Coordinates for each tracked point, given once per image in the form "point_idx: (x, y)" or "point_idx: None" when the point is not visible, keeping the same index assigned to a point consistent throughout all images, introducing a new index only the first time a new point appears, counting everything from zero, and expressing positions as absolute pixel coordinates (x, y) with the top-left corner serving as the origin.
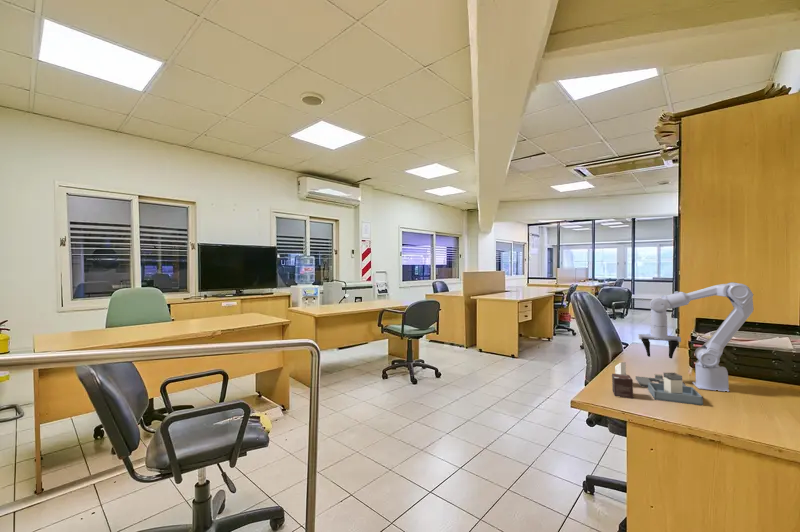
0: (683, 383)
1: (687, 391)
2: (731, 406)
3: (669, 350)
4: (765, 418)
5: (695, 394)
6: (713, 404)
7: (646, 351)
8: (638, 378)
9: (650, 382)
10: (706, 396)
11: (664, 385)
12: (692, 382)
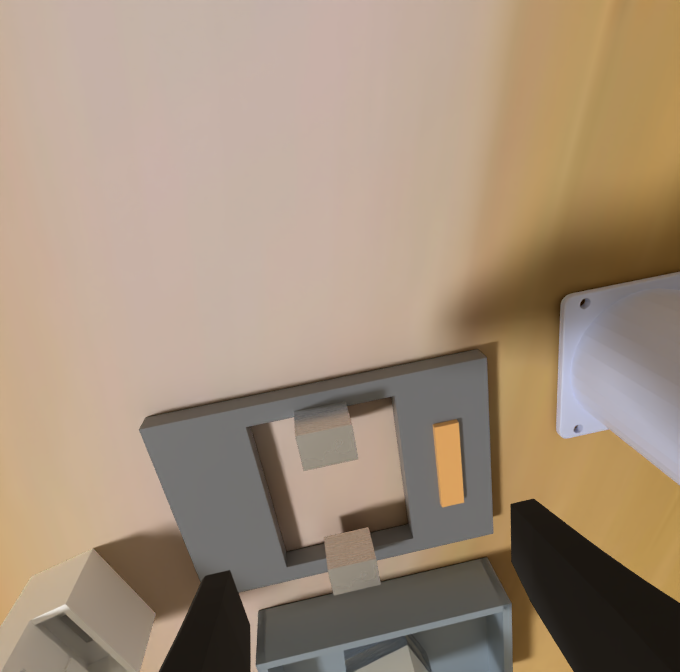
0: (486, 424)
1: (469, 585)
2: None
3: (598, 621)
4: None
5: (495, 646)
6: (541, 631)
7: (174, 644)
8: (173, 482)
9: (266, 527)
10: None
11: None
12: (562, 315)
